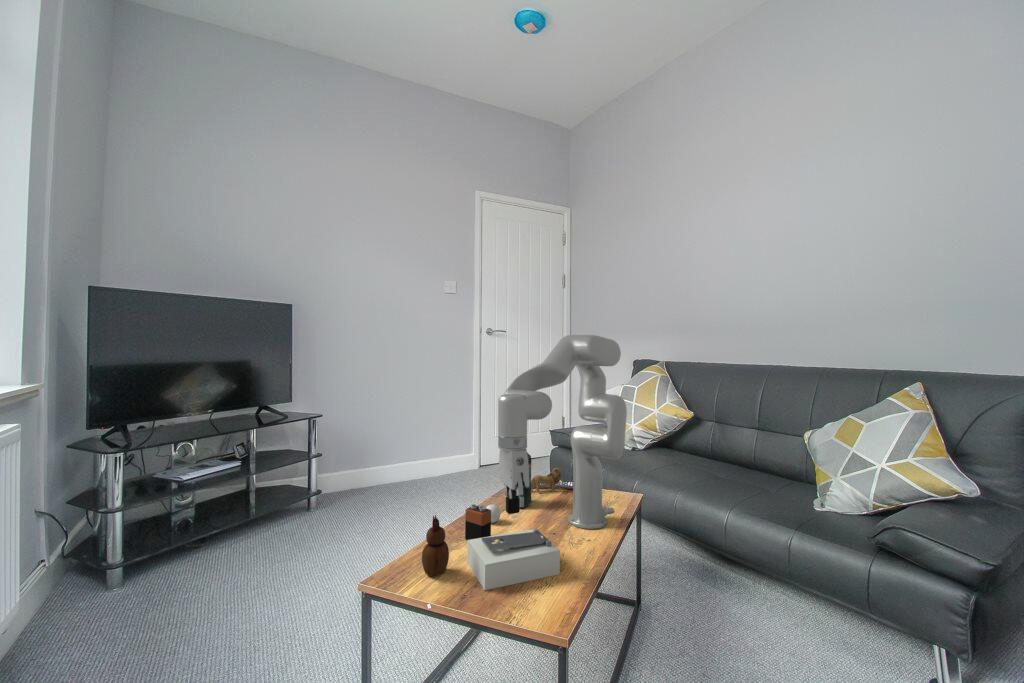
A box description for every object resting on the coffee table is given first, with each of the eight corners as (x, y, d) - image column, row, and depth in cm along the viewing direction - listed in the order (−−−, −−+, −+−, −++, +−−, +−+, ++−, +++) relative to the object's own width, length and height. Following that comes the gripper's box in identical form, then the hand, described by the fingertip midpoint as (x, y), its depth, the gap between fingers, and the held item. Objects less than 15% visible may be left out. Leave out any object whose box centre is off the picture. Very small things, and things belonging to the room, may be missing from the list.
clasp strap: (538, 534, 118) (539, 530, 118) (549, 543, 113) (549, 539, 113) (481, 541, 112) (481, 536, 112) (489, 551, 106) (489, 546, 106)
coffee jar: (512, 498, 164) (513, 449, 164) (533, 501, 162) (533, 451, 162) (505, 507, 155) (505, 455, 155) (526, 510, 152) (527, 457, 153)
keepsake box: (535, 550, 122) (535, 522, 122) (559, 574, 109) (559, 543, 110) (467, 562, 115) (467, 533, 115) (484, 590, 102) (485, 556, 102)
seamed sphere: (483, 518, 145) (484, 501, 145) (500, 519, 144) (501, 502, 144) (481, 528, 137) (481, 510, 137) (499, 528, 137) (499, 510, 137)
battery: (482, 545, 125) (482, 510, 125) (464, 539, 128) (464, 505, 129) (491, 540, 128) (492, 506, 128) (473, 534, 132) (474, 501, 132)
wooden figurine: (434, 582, 105) (435, 520, 105) (417, 575, 108) (418, 514, 108) (452, 570, 111) (453, 511, 111) (435, 564, 114) (436, 506, 114)
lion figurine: (558, 487, 178) (558, 465, 178) (564, 492, 173) (564, 469, 173) (525, 491, 173) (525, 468, 173) (530, 495, 168) (530, 472, 168)
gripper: (538, 446, 107) (538, 521, 107) (514, 434, 121) (514, 500, 121) (510, 449, 104) (510, 526, 104) (489, 437, 118) (489, 504, 118)
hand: (512, 512), depth 112 cm, fingers closed
